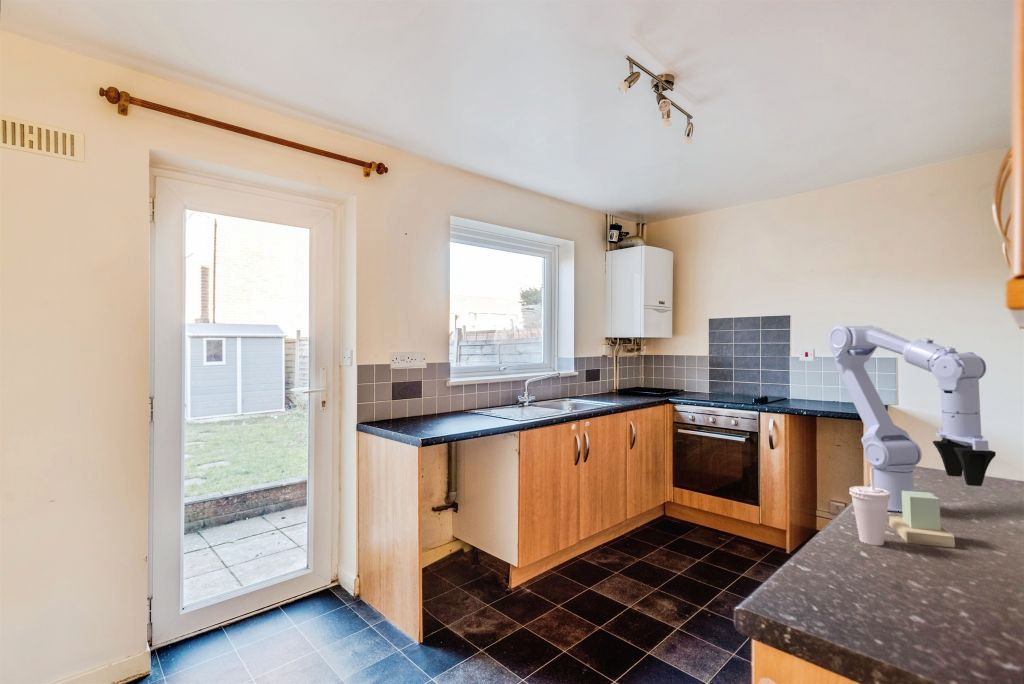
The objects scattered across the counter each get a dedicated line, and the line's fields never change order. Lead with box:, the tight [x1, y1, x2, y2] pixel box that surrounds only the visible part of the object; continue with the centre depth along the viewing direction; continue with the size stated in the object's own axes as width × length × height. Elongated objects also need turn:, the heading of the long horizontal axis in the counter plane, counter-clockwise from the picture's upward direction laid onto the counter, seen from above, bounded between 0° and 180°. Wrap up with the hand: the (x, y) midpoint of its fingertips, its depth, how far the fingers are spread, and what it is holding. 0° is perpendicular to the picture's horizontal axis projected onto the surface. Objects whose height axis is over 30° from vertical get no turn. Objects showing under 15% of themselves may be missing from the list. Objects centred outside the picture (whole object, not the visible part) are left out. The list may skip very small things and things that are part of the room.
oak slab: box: [888, 515, 956, 548], centre depth 94 cm, size 10×7×2 cm
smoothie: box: [848, 466, 891, 547], centre depth 92 cm, size 6×6×14 cm
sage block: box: [901, 490, 942, 531], centre depth 94 cm, size 4×4×6 cm
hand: (963, 480), depth 97 cm, fingers open, 7 cm apart
